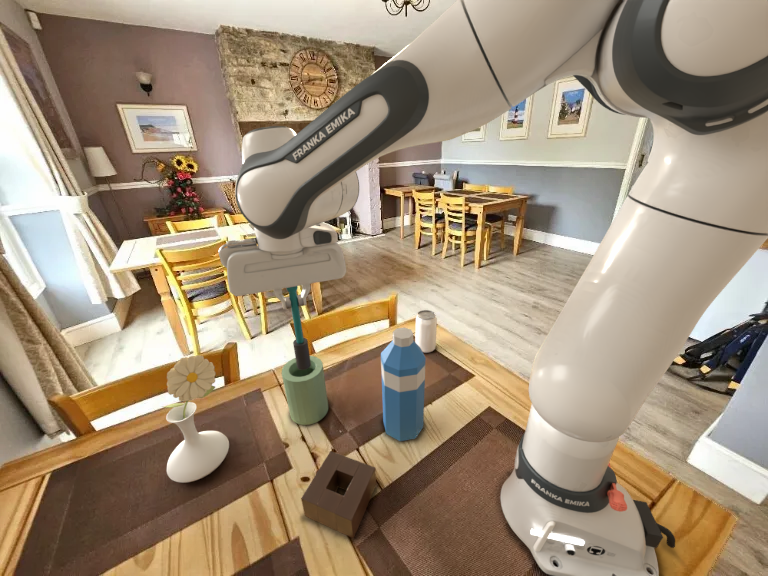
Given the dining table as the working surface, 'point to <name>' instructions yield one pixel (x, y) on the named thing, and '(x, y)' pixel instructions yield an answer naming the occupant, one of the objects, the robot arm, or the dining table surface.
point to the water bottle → (403, 386)
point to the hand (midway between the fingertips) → (294, 306)
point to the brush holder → (333, 506)
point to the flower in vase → (197, 448)
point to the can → (426, 330)
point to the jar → (305, 391)
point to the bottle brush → (299, 333)
